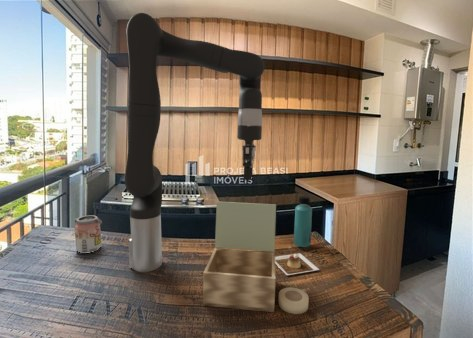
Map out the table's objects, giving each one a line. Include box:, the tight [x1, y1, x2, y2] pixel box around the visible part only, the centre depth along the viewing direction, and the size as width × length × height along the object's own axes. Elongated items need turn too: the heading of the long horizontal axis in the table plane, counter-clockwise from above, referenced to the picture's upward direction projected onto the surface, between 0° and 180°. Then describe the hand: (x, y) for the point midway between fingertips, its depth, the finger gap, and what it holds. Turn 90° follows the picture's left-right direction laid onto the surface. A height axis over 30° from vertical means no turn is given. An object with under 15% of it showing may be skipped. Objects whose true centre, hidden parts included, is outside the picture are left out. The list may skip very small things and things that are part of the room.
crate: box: [202, 247, 276, 313], centre depth 75 cm, size 18×14×9 cm
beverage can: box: [74, 214, 103, 253], centre depth 99 cm, size 9×8×12 cm
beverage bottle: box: [293, 195, 313, 248], centre depth 103 cm, size 6×7×20 cm
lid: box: [214, 201, 277, 253], centre depth 81 cm, size 18×14×1 cm
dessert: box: [275, 252, 320, 276], centre depth 91 cm, size 12×12×5 cm
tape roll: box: [278, 286, 310, 315], centre depth 71 cm, size 8×8×2 cm
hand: (248, 177), depth 87 cm, fingers open, 5 cm apart
